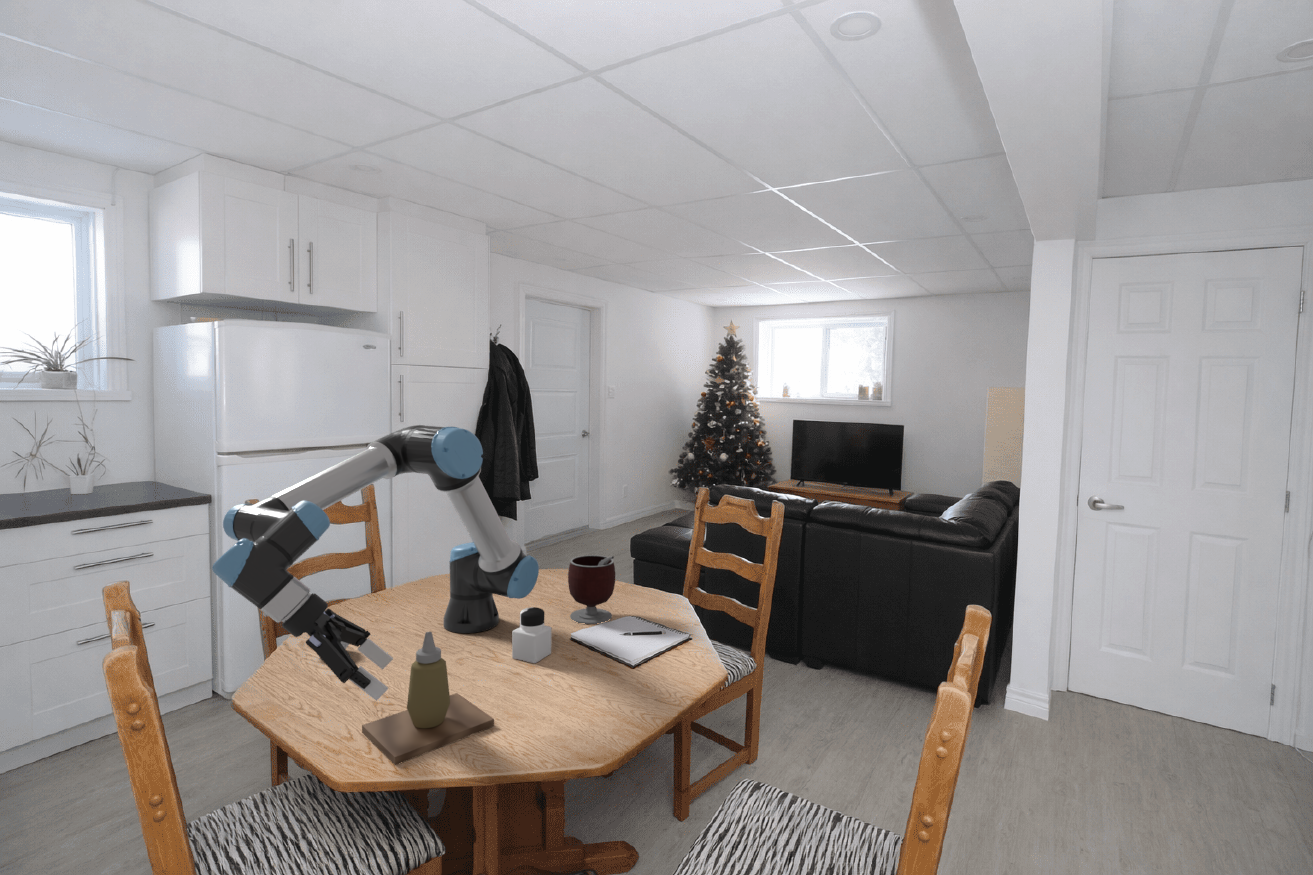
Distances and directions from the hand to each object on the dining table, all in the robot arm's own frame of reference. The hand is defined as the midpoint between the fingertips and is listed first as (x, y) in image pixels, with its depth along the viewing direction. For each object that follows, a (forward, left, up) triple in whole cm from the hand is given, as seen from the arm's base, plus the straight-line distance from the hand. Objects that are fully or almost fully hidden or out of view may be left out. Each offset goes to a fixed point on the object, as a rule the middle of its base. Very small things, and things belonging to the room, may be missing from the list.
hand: (385, 678), depth 125 cm
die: (-6, -47, -12) cm, 49 cm away
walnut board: (-7, +3, -11) cm, 14 cm away
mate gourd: (-71, -24, -12) cm, 76 cm away
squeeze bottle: (-7, +3, -10) cm, 13 cm away
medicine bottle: (-42, -13, -12) cm, 46 cm away
